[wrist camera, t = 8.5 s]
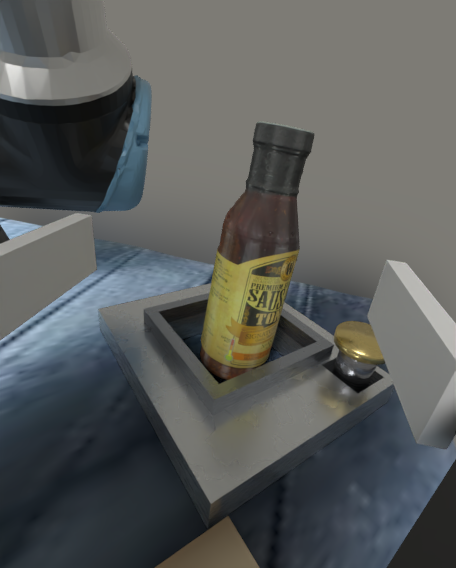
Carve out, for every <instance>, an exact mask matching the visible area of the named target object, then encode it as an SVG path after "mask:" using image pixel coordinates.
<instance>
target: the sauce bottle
mask: <svg viewBox="0 0 456 568" xmlns="http://www.w3.org/2000/svg"><path fill="white" fill-rule="evenodd" d="M313 139H314V133H313V132H311V131H308V130H305V129H299V128H295V127H291V126H286V125H281V124H275V123H268V122H257V124H256V128H255V132H254V138H253V145H254V152H253V156H252V162H251V166H250V172H249V177H248V179H247V180H246V190H245V193H243V194H242V195H241V197H240V198H239V199H238V200H237V201H236V203H235V205H234V206H233V207H232V208H231V209H230V210H229V211H228V213H227V215H226V217H225V220H224V223H223V229H222V234H221V241H220V245H219V247H218V250H217V254H216V260H215V265H214V271H213V276H212V282H211V288H210V293H209V299H208V304H207V309H206V315H205V320H204V326H203V331H202V336H201V343H202V347H201V352H200V357H201V361H202V363H203V365H204V366H205V367H206V369H207V370H208V371H210V372H211V373H212V374H214V375H216V376H217V377H219V378H221V379H225V380H230V379H232V378H234V377H237V376H239V375H241V374H243V373H246V372H248V371H250V370H253V369H255V368H257V367H260V366H262V365H264V364H265V361H266V360H267V359H268V357H269V354H270V350H271V347H272V343H273V340H274V336H275V333H276V329H277V326H278V322H279V319H280V315H281V312H282V309H283V304H284V301H285V298H286V295H287V291H288V288H289V284H290V280H291V277H292V273H293V270H294V266H295V263H296V260H297V256H298V253H299V232H298V214H297V194H298V193H299V190H298V188H299V183H300V179H301V175H302V173H303V168H304V164H305V161H306V158H307V157H308V155H309V154H310V152H311V148H312V143H313Z"/></svg>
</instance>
